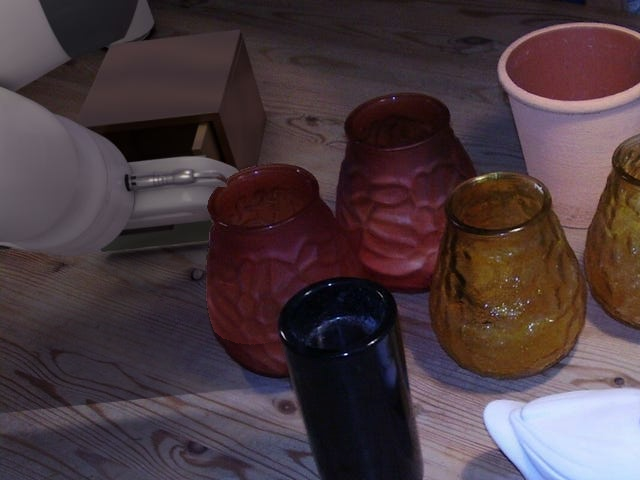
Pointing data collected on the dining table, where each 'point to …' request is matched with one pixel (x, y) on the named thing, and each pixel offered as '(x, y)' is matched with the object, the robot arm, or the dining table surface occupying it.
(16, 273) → the dining table surface
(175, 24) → the dining table surface
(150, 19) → the can
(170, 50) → the cabinet
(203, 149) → the drawer
